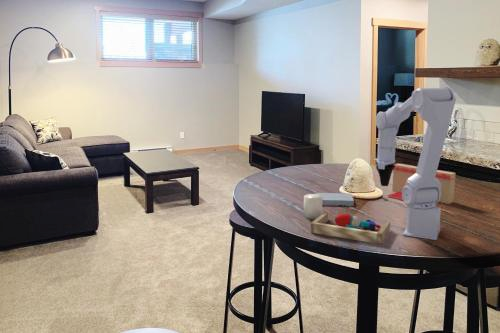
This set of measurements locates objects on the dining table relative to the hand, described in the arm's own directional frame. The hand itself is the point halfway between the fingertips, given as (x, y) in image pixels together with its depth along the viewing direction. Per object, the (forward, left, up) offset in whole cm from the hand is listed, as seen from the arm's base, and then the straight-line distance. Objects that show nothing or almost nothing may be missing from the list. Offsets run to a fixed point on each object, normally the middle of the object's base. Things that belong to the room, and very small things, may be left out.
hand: (384, 185), depth 151 cm
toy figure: (+4, +20, -10) cm, 23 cm away
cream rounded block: (+21, +14, -10) cm, 27 cm away
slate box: (+20, -6, -10) cm, 23 cm away
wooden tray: (+5, +23, -10) cm, 26 cm away
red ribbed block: (-7, -24, -10) cm, 27 cm away
